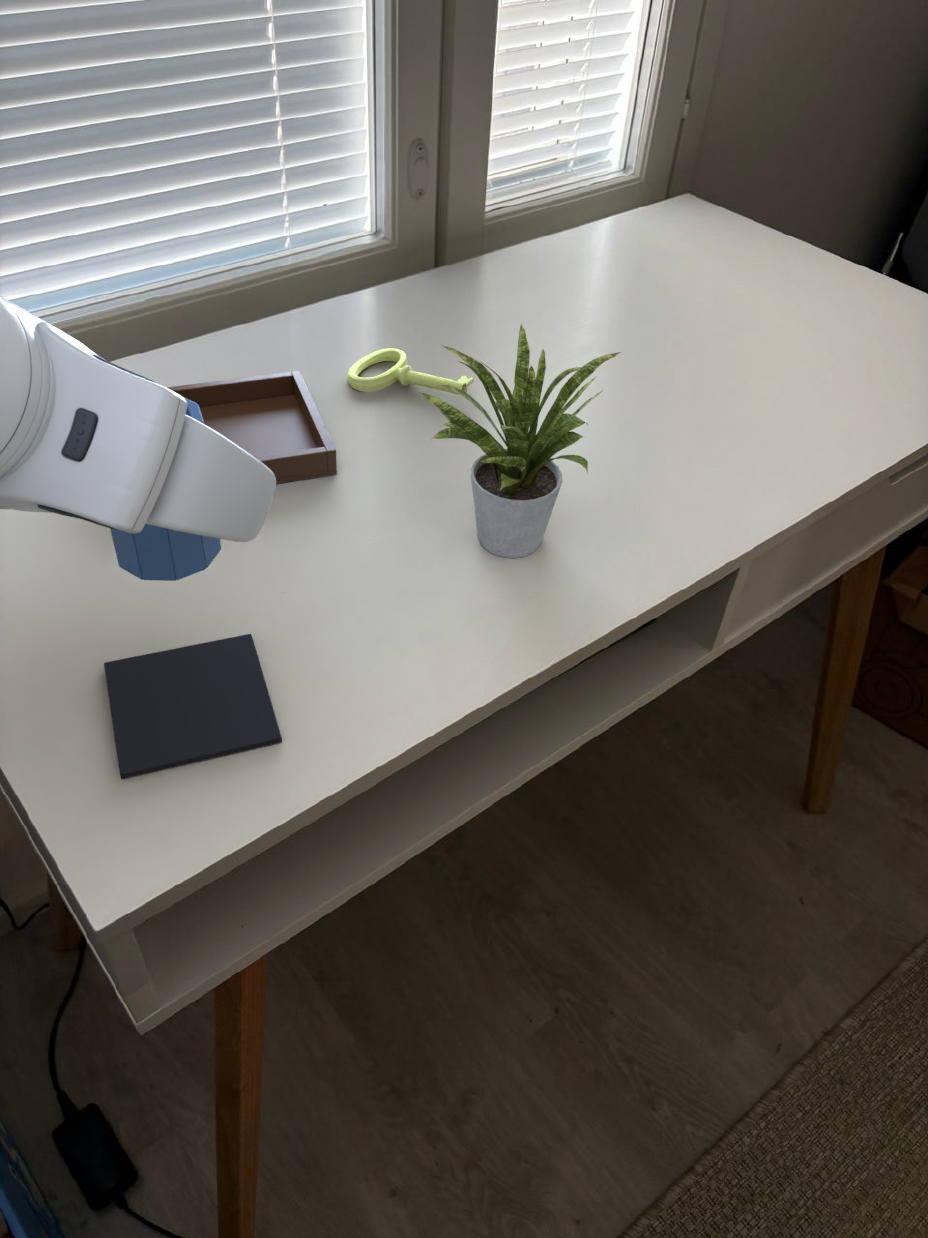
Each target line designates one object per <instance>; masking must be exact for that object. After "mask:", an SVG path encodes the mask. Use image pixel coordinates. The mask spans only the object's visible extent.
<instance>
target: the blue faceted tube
mask: <svg viewBox="0 0 928 1238" xmlns="http://www.w3.org/2000/svg"><path fill="white" fill-rule="evenodd" d="M183 398H184V397H183ZM184 399H185V400H186V401H187V403H188V406H187V411H186V415H188V416H189V417H191V418H193V419H195V420H197V421H199V422H201V423H202V424H204V421H203V418H202V415H201V412H200V408H199V405H198V404H197V403H195V402H193V401H191V400H188V399H186V398H184ZM109 530H110V534H111V538H112V543H113V548H114V551H115V556H116V560H117V564H118V566H119V568H120V569H122V570H124V571H125V572H127V573H129V574H131V575H133V576H134V577H136V578H137V579H140V580H142V581H160V582H161V581H166V582H167V581H169V582H174V581H175V582H176V581H180V580H182V579H184V578H187V577H189V576H192V575H195V574H197V573H199V572H202V571H204V570H205V571H206V569H208V567H209V566H211V564H212V562H213V561H214V560H215V558H216V557H217V556H218V554H219V553H220V552H221V550H222V544H221V539H218V538H212V537H207V536H201V535H196V534H191V533H185V532H180V531H175V530H170V529H166V528H161V527H157V526H153V525H149V524H145V526H144V527H143V529H142V531H141V532H139V533H135V534H134V533H128V532H125V531H122V530H118V529H111V528H109Z"/></svg>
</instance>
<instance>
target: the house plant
mask: <svg viewBox="0 0 928 1238" xmlns="http://www.w3.org/2000/svg"><path fill="white" fill-rule="evenodd" d="M441 347H443V348H444V349H446V350H447V351H449V352H451V353H452V354H454V356H457V357H458V358H460V359H461V360H463V361H459V360H457V362H458V363H461V364H462V365H464V366H465V367H467V368H469V369H470V370H471V371H472V372H473V373H474V374H475V375H476V376H477V378H478V379H479V381H480V382H481V383H482V386H483V387H484V390H485V392H486V394H487V397H488V399H489V402H490V404H491V406H492V408H493V410H494V413H495V415H496V418H497V420H498V422H499V425H500V429H501V431H502V433H503V435H502V434H501V432H500V430H499V429H498V428H497V426H496V424H495V422H494V421H493V419H492V418H491V416H490V414H489V413H488V412H487V411H486V410H485V408H484V407H483V406H482V405H481V404H480V402H478V401H477V400H476V399H474V398H473V397H472V396H471V395H470V394H469V393H467V391H466V392H464V391H462V390H460V389H458V388H456V387H453V386H450V385H441V386H443V387H446V388H448V389H451V390H453V391H455V392H457V393H459V394H460V395H459V396H461V397H463V398H465V399H467V401H468V402H470V403H471V404H472V405H474V406H475V408H476V409H477V410H479V411H480V413H481V414H483V416H484V417H485V418H486V419H487V421H488V422H489V423H490V424H491V426H492V427H493V428H494V431H496V433H497V435H498V436H499V437H500V439H501V440H502V442H503V443H504V445H505V446H506V448H505V447H504V446H503V445H502V444H501V443H500V442H499V441H498V440H497V439H496V438H495V437H494V436H493V435H492V434H491V433H490V432H489V431H488V430H487V428H486V429H485V427H484V426H482V425H480V424H479V423H477V422H476V421H474V419H472V418H471V417H470V416H467V415H466V414H464V413H463V412H462V411H460V410H458V409H457V408H456V407H454V406H453V405H451V404H449V403H448V402H446V401H445V400H443V399H441V398H440V397H437V396H434V395H431V394H429V393H425V392H421V391H420V392H418V394H421V395H422V396H423V398H425V400H426V401H427V402H429V403H431V404H432V405H433V406H435V407H436V408H437V409H438V410H439V411H440V412H441V413H442V415H443V416H444V417H445V418H446V419H447V421H448V422H445V423H443V424H442V425H441V427H443V426H444V427H446V428H444V429H441V430H439V431H438V432H437V433H436V434H434V436H433V437H432V438H431V440H434V439H435V440H436V439H437V440H439V439H441V440H443V439H459V440H466V441H469V442H471V443H473V444H474V445H476V446H477V447H478V448H480V449H481V450H482V452H483V453H484V454H482V455H481V456H479V457H478V458H477V459H476V460H475V461H473V464H472V466H471V467H470V481H471V490H472V498H473V506H474V507H473V508H474V516H475V523H476V524H475V525H476V531H477V539H478V542H479V545H481V547H483V549H484V550H486V551H487V552H488V553H490V554H493V555H495V556H497V557H500V558H501V557H502V558H507V559H518V558H524V557H527V556H530V555H532V554H533V553H534V552H536V550H537V549H538V548H539V547H540V546H541V544H542V542H543V539H544V536H545V533H546V530H547V527H548V525H549V521H550V519H551V516H552V513H553V510H554V507H555V504H556V501H557V499H558V495H559V492H560V490H561V487H562V484H563V473H562V471H561V469H560V467H559V466H558V465H557V464H556V463H555V462H554V460H557V459H558V460H559V459H560V460H561V459H562V460H563V459H564V460H568V461H571V462H574V463H576V464H579V465H581V466H582V467H583V468H584V469H585V471H586V474H589V470H588V467H589V466H588V464H589V461H588V460H587V459H586V458H585V457H583V456H581V455H578V454H564V455H563V454H562V455H559V456H556V457H553V456H554V455H556V454H557V453H559V452H561V451H562V450H564V449H566V448H568V447H570V446H573V445H574V444H575V443H577V442H578V441H579V440H581V439H582V438H584V439H586V437H585V436H583V435H582V434H581V433H578V432H575V431H573V430H574V429H577V428H579V427H581V426H583V425H584V424H586V425H587V426H589V424H588V422H586V421H584V420H582V419H581V418H579V417H577V415H578V414H579V413H580V412H581V411H582V410H583V409H584V408H585V407H586V406H587V405H588V404H589V403H590V402H591V401H593V399H595V398H597V396H598V395H599V394H601V393H602V392H603V391H604V389H602V390H601V391H599V392H598V393H596V394H595V395H594V396H592V397H590V398H589V399H587V400H586V401H585V402H584V403H583V404H581V406H579V407H578V408H577V409H576V410H575V411H574V412H573V413H572V414H571V413H565V412H566V411H567V410H568V409H569V408H570V407H571V406H573V404H574V403H575V402H576V401H577V400H578V399H579V398H580V397H581V396H582V394H583V393H584V392H585V390H586V389H587V388H588V387H589V386H590V385H591V384H592V383H593V382H594V380H595V379H596V378H597V377H598V375H597V376H595V377H593V378H592V379H590V380H589V381H588V382H587V383H585V384H584V385H583V386H581V385H582V384H583V382H585V380H587V379H588V378H589V377H590V376H591V375H592V374H593V373H595V371H596V370H597V369H598V368H599V367H600V366H602V365H603V364H604V363H605V362H606V361H609V360H611V359H613V358H615V357H617V356H618V355H619V354H621V353H623V351H621V352H612V353H609V354H604V355H601V356H599V357H595V358H594V359H591V360H590V361H589V362H587V363H586V364H584V365H582V367H578V366H576V367H571V368H567V369H565V370H563V371H562V372H560V373H559V374H558V375H557V376H556V377H555V378H554V379H553V381H551V383H550V384H549V385H548V387H547V389H546V391H545V393H544V395H543V397H542V391H543V385H544V382H545V375H546V371H547V362H546V352H545V349H544V348H543V349H542V350H541V353H540V356H539V359H538V363H537V369H536V370H537V371H536V372H535V369H534V367H533V366H532V365H531V364H530V357H531V356H530V355H531V350H530V345H529V342H528V339H527V332H526V329H525V328H524V326H523V323H521V324H520V326H519V331H518V340H517V350H516V351H517V352H516V364H515V369H514V378H513V381H514V382H513V383H514V387H513V391H511V390H510V388H509V387H508V385H507V383H506V382H505V380H504V379H503V378H502V376H500V375H499V374H498V373H497V372H496V371H494V370H493V369H492V368H491V367H489V366H488V365H486V364H485V363H483V362H482V361H480V360H479V361H478V360H477V359H475V358H473V357H472V356H469V355H467V354H465V353H463V352H461V351H459V350H457V349H455V348H453V347H450V346H447V345H443V344H441ZM489 370H490V371H491V372H492V373H491V372H490V371H489ZM493 374H495V375H496V377H497V378H498V380H499V381H500V384H501V385H502V387H503V389H504V391H505V394H506V395H507V398H506V397H505V395H504V393H503V391H502V388H501V387H500V385H499V384H498V381H497V380H496V379H495V377H494V376H493ZM570 374H572V375H571V376H570V377H569V378H568V379H567V381H566V382H565V383H564V385H562V387H561V388H560V390H559V392H558V394H557V396H556V398H555V400H554V402H553V403H552V405H551V407H550V408H549V410H548V412H547V414H546V416H545V417H544V419H543V421H542V423H541V425H540V427H539V430H538V426H539V425H538V424H539V416H540V413H541V411H542V410H543V407H544V406H545V403H546V402H547V400H548V398H549V396H550V395H551V393H552V392H553V390H554V389H555V387H557V386H558V384H560V382H561V381H563V380H564V379H565V378H566V377H567V376H568V375H570ZM438 385H439V384H438ZM580 386H581V387H580ZM579 387H580V389H578V388H579ZM576 390H577V391H576ZM575 392H576V393H575ZM574 393H575V394H574ZM573 394H574V395H573ZM572 395H573V396H572ZM571 396H572V397H571ZM541 397H542V398H541ZM537 430H538V431H537Z"/></svg>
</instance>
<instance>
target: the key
mask: <svg viewBox="0 0 928 1238" xmlns="http://www.w3.org/2000/svg"><path fill="white" fill-rule="evenodd" d="M381 362H395V363H396V364H395V365H393V366H392V367H390V368H389V369H388V370H386V371H384V372H383V373H380V374H377V375H375V376H370V377H362V376H359V375H360V373H362V372H363V371H364V370H365V369H366V368H369V366H372V365H375V364H377V363H381ZM347 381H348V383H349V385H350V386H351V388H353V389H354V390H356V391H360V392H375V391H379V390H382V389H385V388H387V387H389V386H391V385H392V384H394V383H395V382H397V381H399V383H400V385H402V386H403V387H408V386H409V385H410V384H412V385H416V386H421V387H424V388H429V389H433V390H438V391H442V392H446V393H450V394H455V395H459V396H461V395H460V394H459V393H457V392H455V391H453V390H451V389H448V388H446V387H443V386H441V385H450V386H453V387H456V388H458V389H460V390H462V391H464V392H466V393H467V390H468V387H470V385H472V384H473V383H474V377H471V376H470V377H468V376H466V375H462V376H461V377H460V378H458V380H454V379H450V378H445V377H441V376H438V375H433V374H428V373H425V372H419V371H415V370H413V368H412V366H411V365H408V357H407V354H406V352H404V350H402V349H398V348H394V347H393V348H392V347H391V348H382V349H379V350H376V351H373V352H371V353H369V354H366V355H365V356H362V357H361V358H360V359H359V360H357V361H356V362H354V363H353V365H352V366H350V368H349V369H348V373H347ZM438 384H439V385H438Z"/></svg>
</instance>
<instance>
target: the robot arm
mask: <svg viewBox="0 0 928 1238" xmlns="http://www.w3.org/2000/svg"><path fill="white" fill-rule="evenodd" d="M187 406H188V403H187V401H186V400H185V399H184V398H183V397H182V396H181V395H179V394H177V393H175V392H174V391H172V390H170V389H168V388H166V386H164V385H161V384H160V383H158V382H156V381H154V380H152V379H150V378H148V377H145V376H143V375H141V374H138V373H136V372H133V371H131V370H129V369H126V368H124V367H122V366H119V365H117V364H115V363H112V362H110V361H108V360H106V358H105V359H104V358H103V357H102V356H99V355H98V354H97V353H95V352H94V351H93V350H92V349H90V348H89V347H88V346H86V345H85V344H84V343H82V341H80V340H78V339H76V338H75V337H73V336H71V335H70V334H68V333H66V332H65V331H63V330H62V329H60V328H58V327H56V326H54V325H53V324H51V323H49V322H48V321H46V320H44V319H42V318H40V317H39V316H37V315H35V314H33V313H32V312H30V311H29V310H27V309H24V308H22V307H21V306H19V305H17V304H15V303H14V302H12V301H10V300H8V299H7V298H5V297H3V296H1V295H0V510H12V511H13V510H14V511H18V512H19V511H20V512H29V513H47V514H48V513H50V514H57V515H60V516H65V517H68V518H73V519H78V520H83V521H86V522H89V523H92V524H95V525H98V526H101V527H104V528H107V529H110V528H111V529H118V530H122V531H125V532H128V533H134V534H135V533H139V532H141V531H142V529H143V527H144V526H145V524H149V525H153V526H157V527H161V528H166V529H170V530H175V531H180V532H185V533H191V534H196V535H201V536H207V537H212V538H218V539H220V540H225V541H231V542H238V543H249V542H252V541H253V540H255V539H256V538H257V537H258V535H259V534H260V532H261V530H262V528H263V526H264V525H265V521H266V519H267V517H268V515H269V512H270V508H271V506H272V503H273V500H274V498H275V493H276V489H277V484H276V477H275V475H274V473H273V472H272V471H271V470H270V469H269V468H268V467H267V466H266V465H264V464H263V463H262V462H260V461H259V460H257V459H256V458H255V457H253V456H252V455H251V454H249V453H248V452H246V451H245V450H243V449H242V448H240V447H239V446H237V445H236V444H235V443H233V442H232V441H230V440H229V439H227V438H226V437H224V436H223V435H221V434H219V433H218V432H216V431H215V430H213V429H211V428H210V427H208V426H206V425H204V424H202V423H201V422H199V421H197V420H195V419H193V418H191V417H189V416H188V415H186V411H187Z"/></svg>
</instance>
